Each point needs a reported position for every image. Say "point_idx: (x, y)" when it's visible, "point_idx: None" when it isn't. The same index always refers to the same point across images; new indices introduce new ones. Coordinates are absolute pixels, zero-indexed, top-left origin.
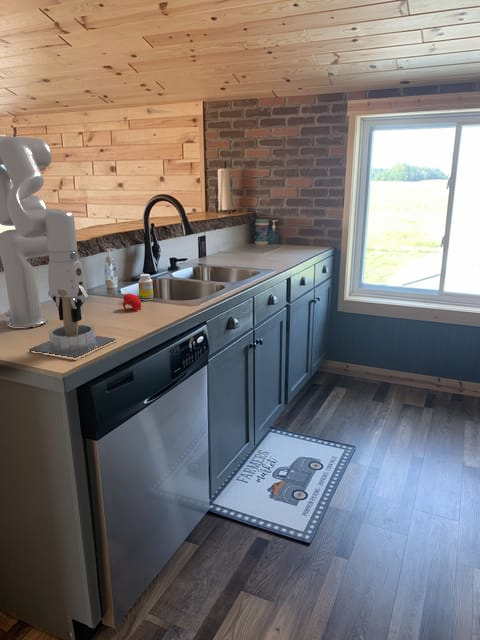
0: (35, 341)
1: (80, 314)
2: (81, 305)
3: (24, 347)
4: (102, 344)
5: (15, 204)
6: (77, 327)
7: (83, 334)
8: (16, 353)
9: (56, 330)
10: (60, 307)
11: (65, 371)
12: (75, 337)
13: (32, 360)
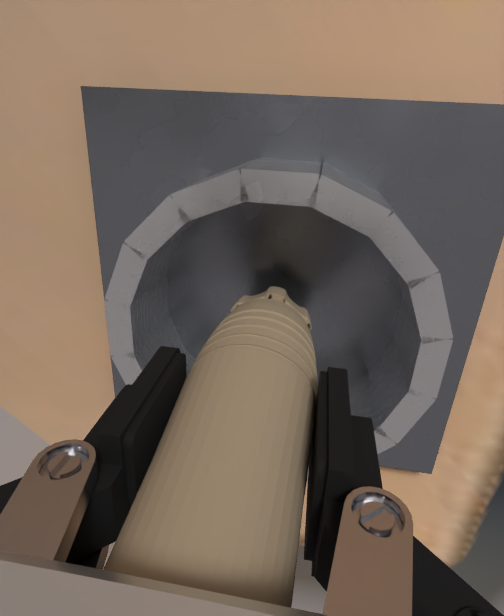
0: (10, 279)
1: (372, 445)
2: (421, 548)
3: (47, 367)
4: (488, 265)
5: None
6: (315, 358)
7: (414, 402)
8: (87, 434)
9: (136, 342)
10: None
11: (447, 551)
12: (381, 446)
13: None
